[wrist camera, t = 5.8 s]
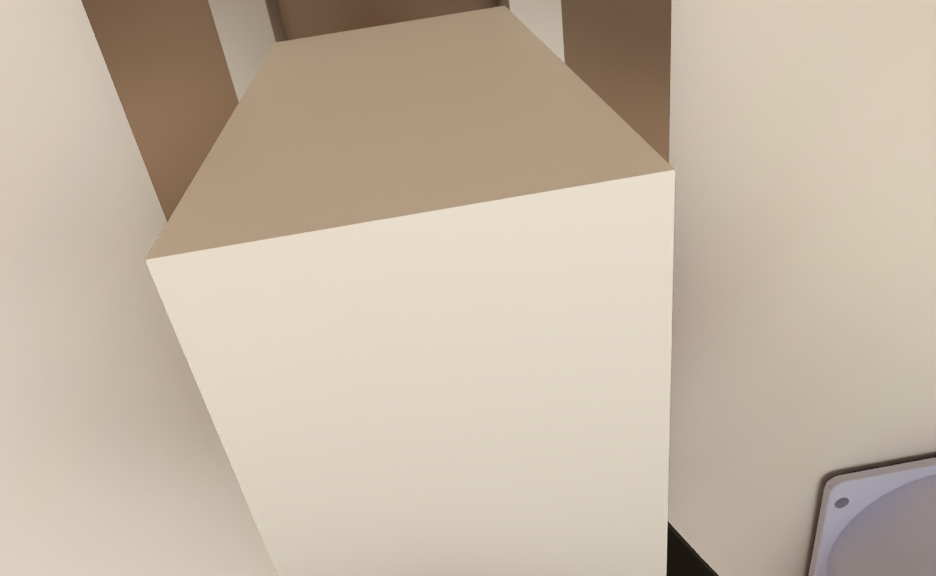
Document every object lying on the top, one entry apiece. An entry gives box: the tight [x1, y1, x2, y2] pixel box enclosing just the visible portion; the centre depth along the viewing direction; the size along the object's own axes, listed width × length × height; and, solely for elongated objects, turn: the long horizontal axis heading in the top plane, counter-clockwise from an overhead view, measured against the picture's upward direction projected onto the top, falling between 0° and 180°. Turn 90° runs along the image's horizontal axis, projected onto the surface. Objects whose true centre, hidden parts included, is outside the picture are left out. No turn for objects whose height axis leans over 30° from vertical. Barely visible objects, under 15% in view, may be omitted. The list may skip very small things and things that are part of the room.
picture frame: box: [81, 0, 671, 222], centre depth 18 cm, size 24×12×2 cm, turn 8°
